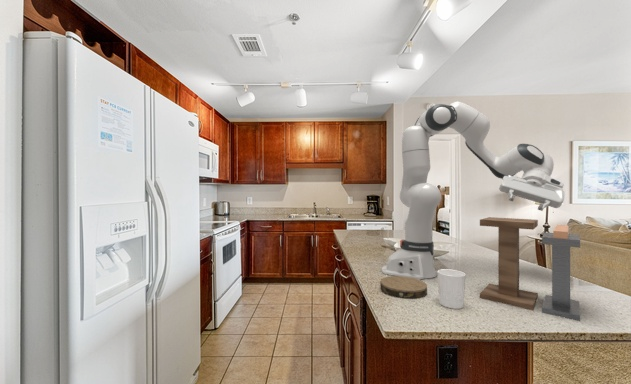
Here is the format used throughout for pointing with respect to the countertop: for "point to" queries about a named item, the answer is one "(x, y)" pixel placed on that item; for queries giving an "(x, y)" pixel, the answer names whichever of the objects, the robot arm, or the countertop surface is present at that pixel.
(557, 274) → the grey stand
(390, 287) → the round wood slice
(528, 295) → the walnut stand
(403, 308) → the countertop surface
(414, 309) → the countertop surface
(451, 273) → the white cup
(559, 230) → the terracotta bar
